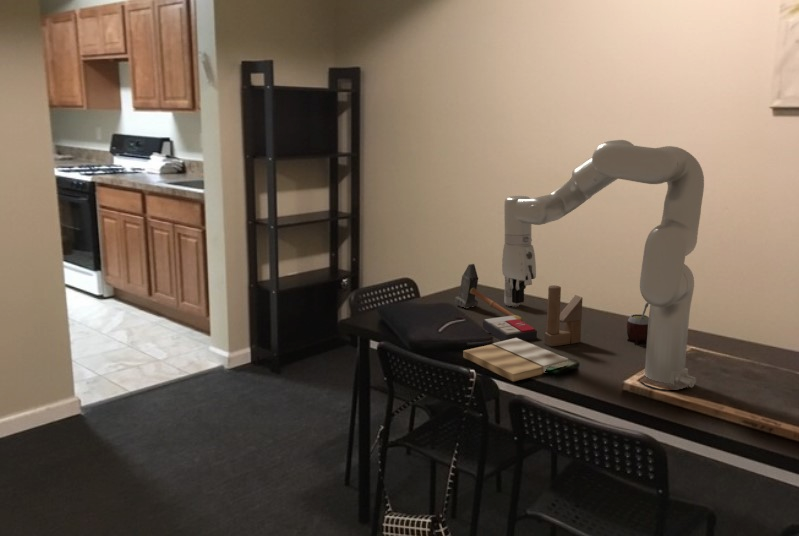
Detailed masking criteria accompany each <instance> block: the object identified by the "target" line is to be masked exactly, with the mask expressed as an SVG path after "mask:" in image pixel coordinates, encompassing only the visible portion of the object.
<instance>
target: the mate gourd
mask: <svg viewBox="0 0 799 536" xmlns="http://www.w3.org/2000/svg"><path fill="white" fill-rule="evenodd" d="M649 305H650V304H649V303H647V302H645V305H644V309H643V312H642V314H631V315H630V316H629V317H628V319H627V321H626V334H627V339H626V340H627V342H632V343H634V345H635V346H638V345H639V344H640V343H641V344H646V345H647V334H648V321H649V315H645V313H646V311H647V308H648V307H649Z"/></svg>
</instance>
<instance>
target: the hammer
mask: <svg viewBox="0 0 799 536" xmlns="http://www.w3.org/2000/svg"><path fill="white" fill-rule="evenodd" d="M478 282H479V276H478V272H477V269H476V265H475V263H469V264H468V265H467V267H466V269H465V271H464V273H463V274H462V276H461V280H460V287H459V294H458V296H455V297H454V303H455V304H456V305H458V306H460V307H461V308H462V307H464V308H466V307H471V308H473V307H472V306H476V307H477V306H478V304H479V301H478V300H477V299H476V297H477V298H478V299H480V300H482V301H483V302H484V303H486V304H488V305H489V306H490V307H491V308H493V309H496V310H497V311H498V312H500V313H502V314H503V315H504V316H513V317H515V318H516V319H519V320H521V321H522V322H524V319H523V318H522V316H520V315H515V314H514V313H512V312H511V311H509V310H507V309H506V308H504V307H503V306H501V305H500V304H498V303H497V302H496V301H494V300H492V299H490V298H489V297H487V296H486V295H485V294H483V293H482V292H480V291H478V290H477V289H478ZM464 308H463V309H464ZM466 309H467V308H466Z"/></svg>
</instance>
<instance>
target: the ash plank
mask: <svg viewBox="0 0 799 536" xmlns="http://www.w3.org/2000/svg"><path fill="white" fill-rule="evenodd" d="M491 345H493V346H496V347H498V348H500V349H503V350H505V351H507V352H509V353H512V354H514V355H516V356H519V357H521V358H523V359H525V360H528V361H530V362H532V363H535V364H537V365H539V366H541V367H542V374H544V373H546V372H545V371H546V369H547V367H549V366H552V365H556V364H559V363H562V362H567V361H569V362H570V359H569V358H567V357H565V356H562V355H559V354H557V353H555V352H553V351H550V350H549V349H545V348H543V347H540V346H538V345H536V344H533V343H531V342H528V341H527V340H525V341H523V340H521V339H518V338H513V339H509V340H505V341H501V340H500V341H497V342H494V343H492V344H491Z"/></svg>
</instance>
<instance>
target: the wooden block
mask: <svg viewBox="0 0 799 536" xmlns="http://www.w3.org/2000/svg"><path fill="white" fill-rule="evenodd" d="M547 289H548V293H547V294H548V295H547V296H548V297H547V317H546V319H547V320H546V321H547V322H546V332H544V333H543V334H544V338H543V343H544V344H545V345H546V346H548V347H557V346H563V345H564V346H565V345H573V344H578V343H581V336H582V334H581V332H582V318H583V317H582V315H583V296H579V295H576V294H575V295H574V296H573V297H572V298H571V300H569V302H568V303H567V304H566V306H565V307H564V308H563V309H562V311H561V295H562V292H561V291H562V287H561V286H560V285H549V286H548V288H547ZM560 323H564V330H560Z"/></svg>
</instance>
